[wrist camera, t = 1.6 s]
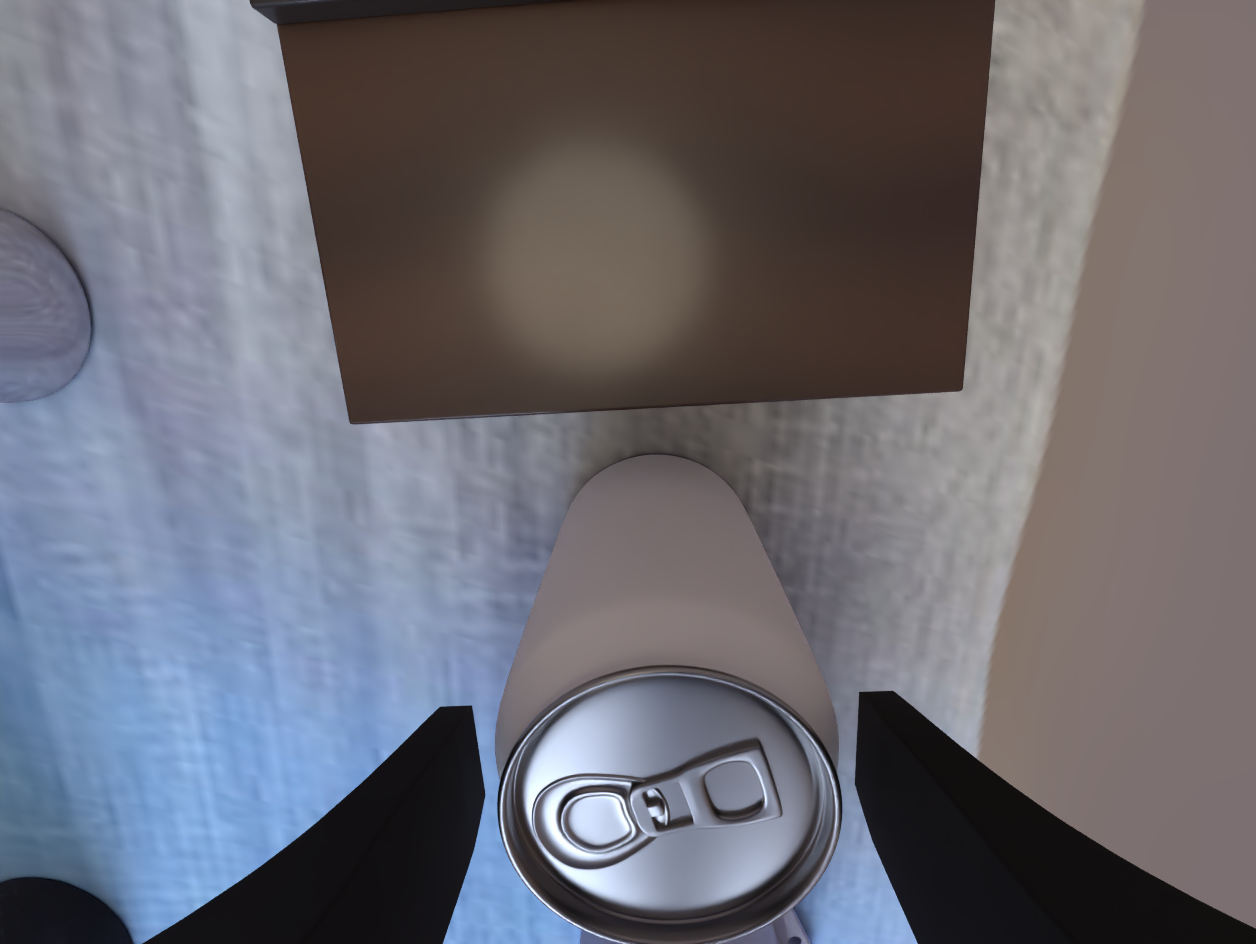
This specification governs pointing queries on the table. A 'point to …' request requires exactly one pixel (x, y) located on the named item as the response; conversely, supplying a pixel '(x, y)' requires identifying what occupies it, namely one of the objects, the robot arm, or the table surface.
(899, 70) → the desk shelf
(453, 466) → the table surface
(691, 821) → the can
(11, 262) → the beer glass
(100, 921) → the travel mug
